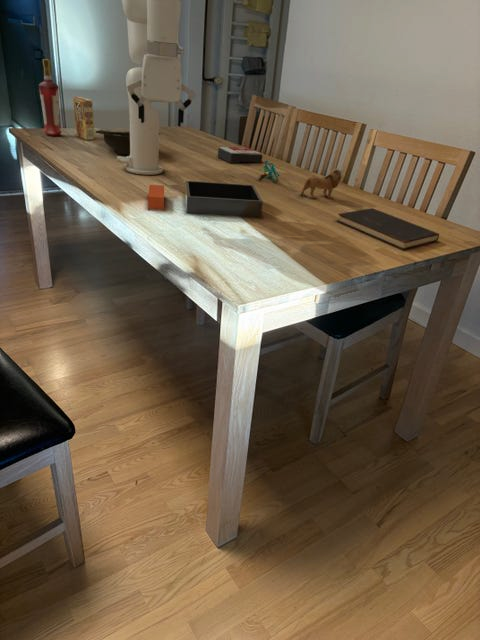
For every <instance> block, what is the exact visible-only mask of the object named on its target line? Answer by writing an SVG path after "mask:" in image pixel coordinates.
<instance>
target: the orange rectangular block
mask: <svg viewBox="0 0 480 640" xmlns="http://www.w3.org/2000/svg"><path fill="white" fill-rule="evenodd" d="M147 210H148V211H150V210H159V211H164V210H165V185H161V184H149V185H148V194H147Z"/></svg>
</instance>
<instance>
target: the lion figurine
mask: <svg viewBox="0 0 480 640" xmlns="http://www.w3.org/2000/svg"><path fill="white" fill-rule="evenodd" d="M342 177H343V176H342V171H341V170H340V169H338V168H334V169H331V170H330V172H329V173H328V174H327V175H326V176H324V177H319V176H316V175H311V176H308V178H307V179H306V181H305V183H304V185H303V188H302V190H301V193H300V194H299V196H300V197H302V196H304V197H305V196H306V193H305V191H307V190H309V189H310V191H309V194H310V197H311V198H312V199H316V198H317V197H316V196H315V195H314V192H315V190H316V189H320V190H323V193H322V197H327V198H328V199H331V200H332V198H333V197H332V196H331V195H332V193H333V189H336V188H337V187H338V186H339V184H340V182H341V180H342ZM327 190H328V191H327ZM327 192H328V193H327Z"/></svg>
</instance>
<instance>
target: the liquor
mask: <svg viewBox="0 0 480 640" xmlns="http://www.w3.org/2000/svg"><path fill="white" fill-rule="evenodd" d="M42 66H43V75H44V76H43V81H42V82H40V83H39V84H38V88H39V90H38V91H39V97H40V103H41V109H42V116H43V124H44V131H43V132H44V134H46V135H47V136H49V137H59V136H60V135H61V134H62V130H61V120H60V94H59V93H60V91H59V85H58V84H56V83H55V82H54V81H53V78H52V72H51V60H50V59H46V58H43V59H42Z"/></svg>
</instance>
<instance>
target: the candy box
mask: <svg viewBox="0 0 480 640" xmlns="http://www.w3.org/2000/svg"><path fill="white" fill-rule="evenodd" d="M72 99H73V111H74V121H75V131H76V132H75V135H76V137H79V138H81V139H84V140H86V141H88V140H89V141H90V140H95V139H96V137H95V123H94V108H93V106H94V105H93V100H92V99H90V98H86V97H83V96H73V98H72Z"/></svg>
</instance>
